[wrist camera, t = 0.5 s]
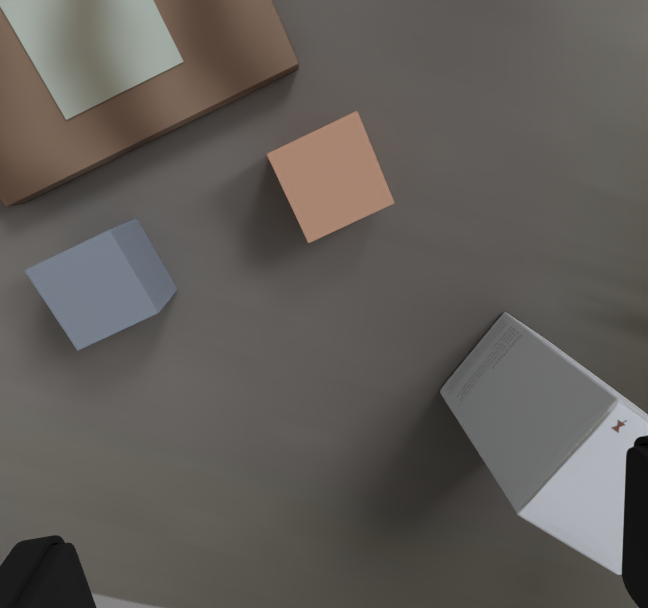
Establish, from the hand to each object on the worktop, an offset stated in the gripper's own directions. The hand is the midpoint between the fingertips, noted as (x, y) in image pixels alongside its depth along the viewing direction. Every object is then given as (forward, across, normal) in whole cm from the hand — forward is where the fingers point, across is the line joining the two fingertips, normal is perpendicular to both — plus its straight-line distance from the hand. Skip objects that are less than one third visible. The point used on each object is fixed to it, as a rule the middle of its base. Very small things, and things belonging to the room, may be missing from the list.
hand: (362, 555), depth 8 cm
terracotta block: (+25, -2, -5) cm, 25 cm away
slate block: (+25, +12, -1) cm, 27 cm away
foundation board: (+25, +9, -14) cm, 30 cm away
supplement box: (+25, -13, +10) cm, 30 cm away
